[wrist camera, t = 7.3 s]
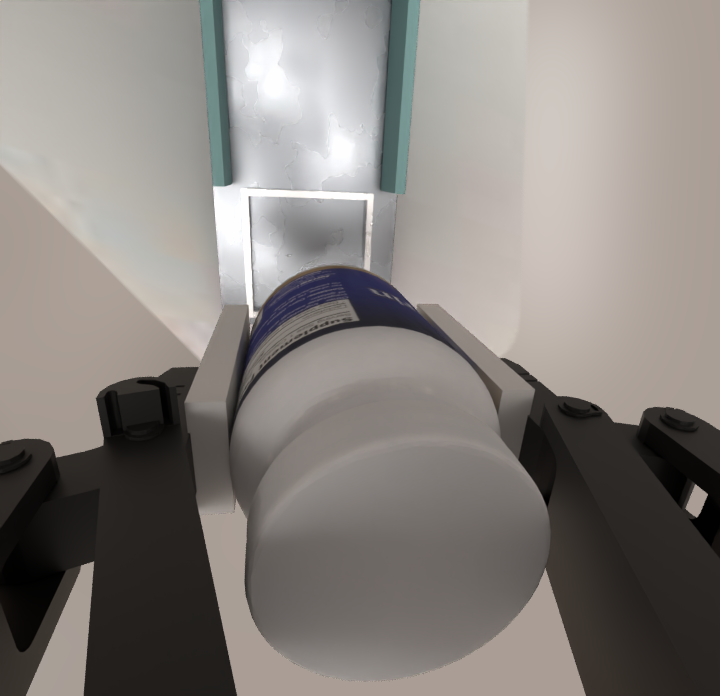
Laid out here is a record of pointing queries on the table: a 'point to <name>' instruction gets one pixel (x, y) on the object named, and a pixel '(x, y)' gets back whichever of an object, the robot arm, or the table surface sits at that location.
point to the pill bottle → (375, 486)
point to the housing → (396, 98)
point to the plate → (303, 143)
